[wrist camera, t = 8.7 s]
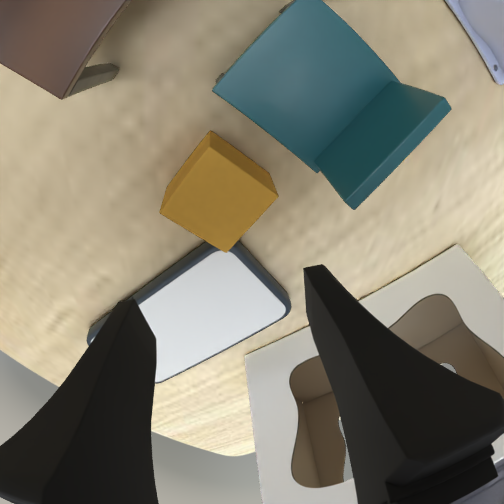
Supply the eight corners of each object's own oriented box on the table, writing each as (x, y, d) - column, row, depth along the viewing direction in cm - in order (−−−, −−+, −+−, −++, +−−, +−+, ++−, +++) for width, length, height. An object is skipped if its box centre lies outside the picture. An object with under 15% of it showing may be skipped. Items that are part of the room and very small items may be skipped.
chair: (363, 74, 16) (457, 104, 9) (295, 145, 18) (348, 217, 11) (285, 2, 13) (345, -32, 6) (212, 81, 15) (210, 106, 8)
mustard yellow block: (269, 173, 19) (279, 196, 16) (224, 224, 21) (226, 253, 18) (210, 130, 17) (209, 146, 14) (166, 187, 19) (158, 213, 16)
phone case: (224, 222, 21) (83, 328, 25) (225, 235, 20) (79, 342, 24) (294, 297, 25) (155, 374, 30) (299, 312, 24) (154, 388, 28)
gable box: (299, 402, 36) (342, 612, 13) (240, 355, 29) (281, 655, 6) (464, 319, 31) (559, 519, 8) (459, 240, 24) (616, 519, 1)
